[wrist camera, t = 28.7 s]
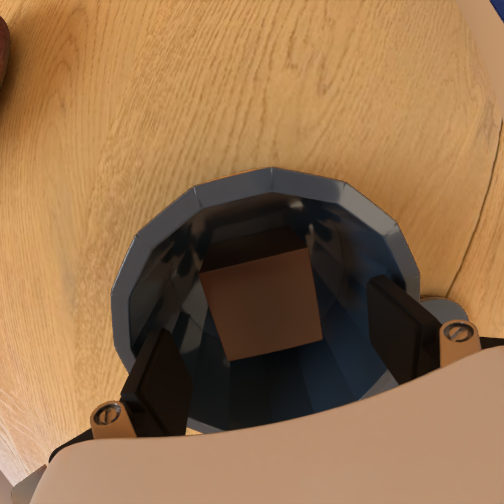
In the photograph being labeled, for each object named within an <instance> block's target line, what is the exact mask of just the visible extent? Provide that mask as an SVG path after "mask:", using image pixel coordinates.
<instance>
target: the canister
mask: <svg viewBox="0 0 504 504" xmlns="http://www.w3.org/2000/svg"><path fill="white" fill-rule="evenodd" d="M286 226H291V228H292V229H293V230H294V231H295V232H296V234H297V235H298V236H299V237H300V238H301V240H302V241H303V242H304V243H305V244H306V246H307V247H308V248H309V254H310V259H311V265H312V270H313V276H314V282H315V288H316V294H317V300H318V306H319V313H320V319H321V326H322V333H323V340H320V341H316V342H313V343H309V344H305V345H301V346H297V347H293V348H289V349H285V350H280V351H276V352H272V353H267V354H263V355H258V356H253V357H248V358H243V359H238V360H233V361H228V360H227V357H226V355H225V352H224V349H223V346H222V344H221V341H220V338H219V335H218V332H217V329H216V326H215V324H214V321H213V318H212V315H211V312H210V309H209V306H208V303H207V300H206V297H205V294H204V291H203V288H202V285H201V281H200V278H199V275H198V273H199V271H200V268H201V266H202V263H203V261H204V258H205V256H206V253H207V251H208V248H209V246H210V245H212V244H216V243H220V242H224V241H228V240H232V239H236V238H241V237H245V236H249V235H253V234H257V233H261V232H265V231H270V230H274V229H278V228H282V227H286ZM382 274H384V275H385V276H386V277H388V278H389V279H390V280H391V281H393V282H394V283H395V284H396V285H398V286H399V287H400V288H401V289H403V290H404V291H405V292H406V293H407V294H409V295H410V296H411V297H412V298H413V299H415V300H416V301H417V302H418V303H419V304H420V272H419V269H418V267H417V265H416V262H415V260H414V258H413V255H412V253H411V251H410V249H409V247H408V244H407V242H406V240H405V238H404V236H403V234H402V232H401V229H400V227H399V225H398V223H397V222H396V221H395V220H394V219H393V218H392V217H390V216H389V215H388V214H387V213H386V212H384V211H383V210H382V209H381V208H379V207H378V206H377V205H376V204H374V203H373V202H372V201H371V200H369V199H368V198H367V197H365V196H364V195H363V194H361V193H360V192H359V191H358V190H356V189H355V188H354V187H352V186H351V185H350V184H348V183H347V182H344V181H341V180H337V179H333V178H328V177H323V176H319V175H314V174H309V173H304V172H299V171H293V170H288V169H282V168H277V167H264V168H256V169H251V170H247V171H243V172H239V173H234V174H231V175H227V176H223V177H219V178H215V179H212V180H209V181H206V182H203V183H200V184H198V185H195V186H194V187H192V188H190V189H188V190H187V191H186V192H185V193H183V194H182V195H181V196H180V197H178V198H177V199H176V200H175V201H173V202H172V203H171V204H170V205H169V206H167V207H166V208H165V209H164V210H163V211H161V212H160V213H159V214H158V215H157V216H155V217H154V218H153V219H152V220H151V221H149V222H148V223H147V224H146V225H145V226H144V227H142V228H141V229H140V230H139V231H138V232H137V234H136V235H135V236H134V238H133V240H132V243H131V245H130V247H129V249H128V251H127V254H126V256H125V258H124V260H123V263H122V265H121V267H120V270H119V272H118V274H117V277H116V279H115V282H114V284H113V287H112V289H111V313H112V327H113V339H114V347H115V350H116V351H117V353H118V355H119V357H120V359H121V361H122V363H123V365H124V366H125V368H126V370H127V372H128V374H130V371H131V369H132V367H133V365H134V363H135V361H136V359H137V357H138V355H139V352H140V350H141V348H142V346H143V344H144V342H145V340H146V338H147V336H148V334H149V332H150V330H153V329H159V328H165V329H166V331H167V330H169V331H170V332H171V334H172V336H173V338H174V341H175V343H176V345H177V348H178V350H179V352H180V354H181V357H182V359H183V361H184V363H185V365H186V368H187V370H188V372H189V374H190V376H191V378H192V381H193V392H192V397H191V403H190V409H189V415H188V421H187V427H188V428H190V429H193V430H195V431H198V432H201V433H203V434H207V433H216V432H224V431H231V430H238V429H244V428H250V427H256V426H261V425H267V424H272V423H277V422H281V421H286V420H290V419H295V418H299V417H303V416H307V415H311V414H315V413H319V412H322V411H326V410H329V409H333V408H336V407H340V406H343V405H346V404H349V403H352V402H355V401H358V400H361V399H364V398H367V397H370V396H373V395H376V394H379V393H380V392H381V391H382V390H383V389H384V388H385V387H386V386H387V385H388V384H389V382H390V381H391V380H392V379H393V378H394V377H393V376H392V374H391V373H390V371H389V370H388V368H387V367H386V365H385V364H384V362H383V361H382V359H381V358H380V357H379V355H378V354H377V352H376V351H375V349H374V348H373V346H372V345H371V343H370V339H369V323H368V306H367V292H366V283H367V282H369V280H370V278H372V277H375V276H378V275H382Z"/></svg>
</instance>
